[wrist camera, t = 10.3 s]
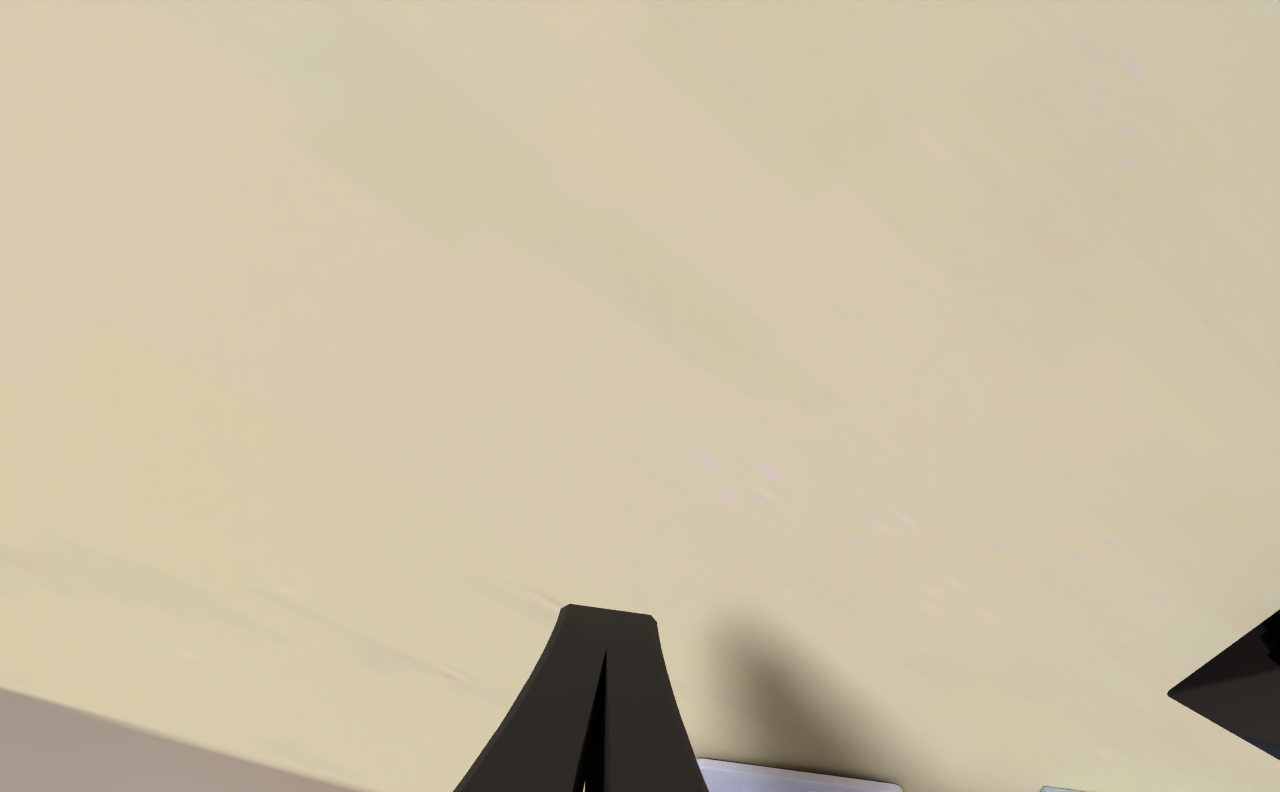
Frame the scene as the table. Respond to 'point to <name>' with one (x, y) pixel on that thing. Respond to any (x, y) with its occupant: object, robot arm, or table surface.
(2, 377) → the table surface
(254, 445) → the table surface
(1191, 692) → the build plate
